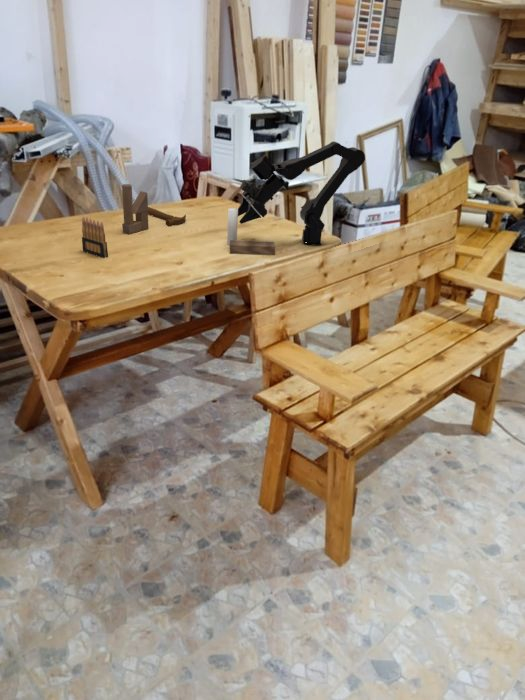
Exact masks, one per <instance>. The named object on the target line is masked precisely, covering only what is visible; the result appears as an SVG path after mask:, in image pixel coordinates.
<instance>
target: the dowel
mask: <svg viewBox="0 0 525 700" xmlns="http://www.w3.org/2000/svg"><path fill="white" fill-rule="evenodd" d="M238 217H239V216H238V208H236V207H235V208H234V207H233V208H232V207H229V208H228V209H227V238H226V239H227V240H226V244H227V245H228V246H230V240H238V226H239V225H238V222H239V219H238Z"/></svg>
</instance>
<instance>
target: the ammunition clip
mask: <svg viewBox="0 0 525 700" xmlns="http://www.w3.org/2000/svg"><path fill="white" fill-rule="evenodd" d="M81 223H82V225H81V226H82V228H81V231H82V237H81V242H82V252H83V251H85V252H84V253H87V252H88V253H87V254H89V255H94V256H96V255H97V256H96V257H99V256H100V257H99V258H102V257H103V258H102V259H106V258H109V252H108V244H107V241H106V233H105V228H104V222H103V221H101V222H100V221H99V220H95V219H93V221H92V219H91V218H90V219H89V218H88V217H86V218H85V217H84V216H82V218H81ZM105 257H106V258H105Z"/></svg>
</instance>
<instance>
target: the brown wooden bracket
mask: <svg viewBox="0 0 525 700" xmlns="http://www.w3.org/2000/svg"><path fill="white" fill-rule="evenodd" d="M121 189H122V190H121V192H122V208H123V209H122V210H123V223H122V224H121V225H122V233H124V234H127V235H131V234H135V233H138V232H141V231H142V230H143V231H146V230H148V229H149V215H148V207H149V205H148V204H149V201H148V200H149V198H148V192H145V191H142V190H140V191H139V193H138V195H137V197H136V198H135V200H134V201H133V185H132V184H129V183H124V184H121ZM134 216H135V220H134Z"/></svg>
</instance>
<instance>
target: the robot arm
mask: <svg viewBox="0 0 525 700" xmlns="http://www.w3.org/2000/svg"><path fill="white" fill-rule="evenodd" d="M334 156H339V157H341V160H340V161H339V166H338V168H337V169H336V170H335V171H334V173H333V174H332V176H330V178H329V179H328V181H327V182H326V183H325V184H324V186H322V188H321V190H320V191H319V192H318V194H317V195H316V197H315V198H313V199H312V200H310V199H307V200H305V203H304V204H303V205H302V206H300V208H301V210H300V212H299V217H300V219H301V220H302V221H303V223H304V229H303V230H302V235H301V241H302V242H303V244H304V243H305V242H307V243H305V244H315V245H314V246H322V233H323V230H324V228H325V223H324V221H322V220H321V217H322V215H323V213H324V210H325V206H326V205H327V204H328V202H329V201H330V200H331V199H332V197H333V196H334V195H335V193H336V192H337V191H338V189H340V187H341V185H342V184H343V183H344V181H346V179H347V178H348V176H349V175H351V174H352V173H353V172H355V171H357V170H358V169H359V168H360V167H362V165H364V164H365V161H366V155H365V152H364V151H363V150H361V149H359V148H357V147H353V146H352V147H346V146H344V145H342V144H341V143H339V142H337V141H335V140H334V141H331V142H330V143H328V144H326V145H324V146H322V147H320V148H318V149H316V150H314V151H312V152H310V153H307V154H306V155H303V156H301V157H296V158H291V159H286V160H284V161H282V162H281V163H277V164H273V163H272V162H271V161H270V159H269V157H268V156H267V155H265V154H264V155H262V156H261V157H258V158H257V159H256V160H254V161H253V163H252V164H251V165H250V169H251V170H252V171H253V172H254V174H255V175H256V176H257V178H259V180H260V181H263V180H264V182H262V184H261V183H260V184H258V185H256V183H254V182H253V181H251V182H249V181H247V180H246V179H243V180H242V182H241V184H240V186H239V188H240V190H242V193H241V194H242V195H241V203H240V205H239V206H238V208H237V209H238V217H239V216H241V215H243V216H242V217H241V218H240V220H238V222H239V223H240V224H241V225H242V224H245V223H248V222H250V221H253V220H257V219H261V218H265V216H267V214H268V209H267V208H266V204H267V203H268V202H269V201H273V200H274V197H275V195H276V194H277V193H278V192H279V191H280V190H281V189H283V188H284V189H285V190H286V191H289V190H290V189H289V185H290V182H289V181H292V180H294V179H295V180H296V178H298V177H299V176H301V175H302V174H303V173H304V172H305V171H307V169H309V168H311V167H313V166H316V165H317V164H319V163H321V162H323V161H326V160H328V159H329V158H332V157H334ZM276 173H277V174H278V175H277V174H276ZM283 177H284V178H285V179H286V180H285V179H284V178H283ZM288 180H289V181H288ZM305 244H304V245H305Z"/></svg>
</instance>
